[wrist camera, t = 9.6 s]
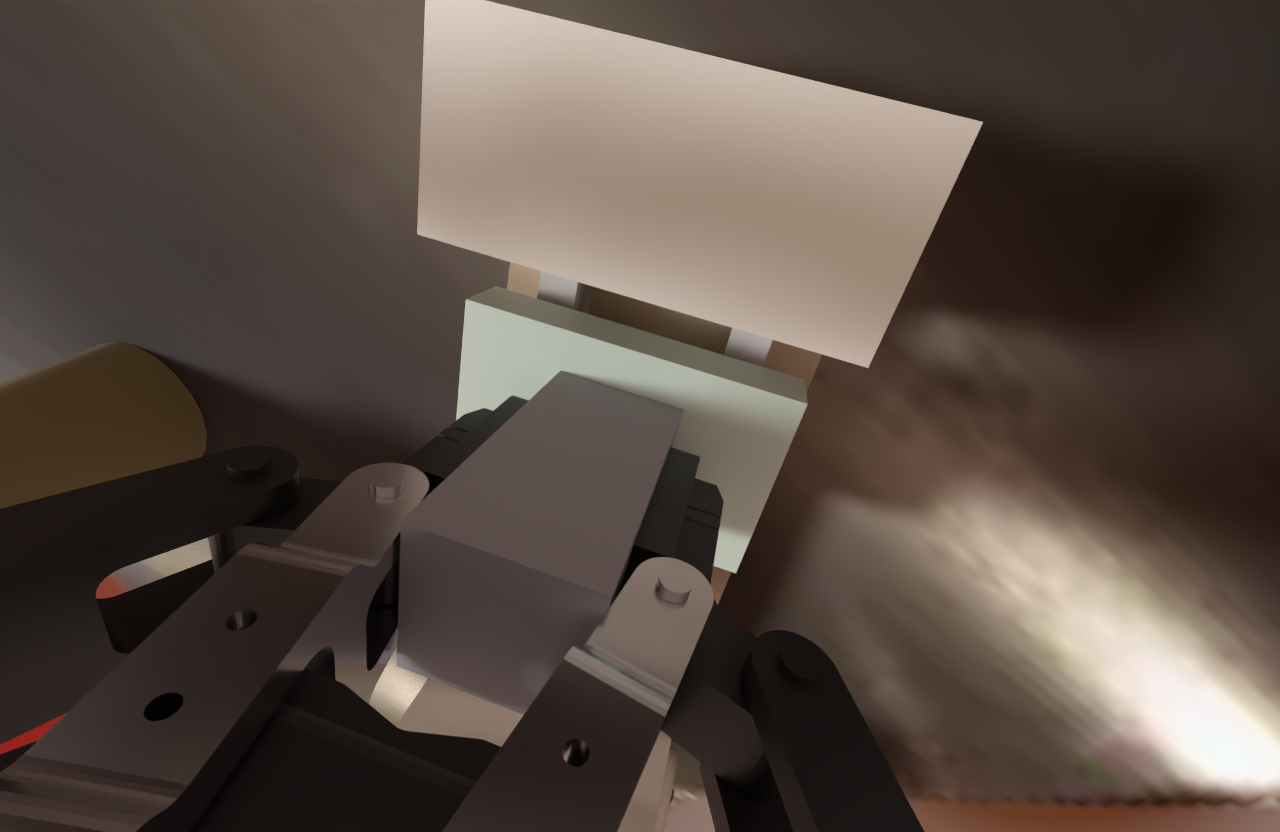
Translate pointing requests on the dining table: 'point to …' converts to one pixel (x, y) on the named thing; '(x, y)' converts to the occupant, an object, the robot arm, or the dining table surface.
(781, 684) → the robot arm
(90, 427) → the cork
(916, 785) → the dining table surface
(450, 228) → the rail
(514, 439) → the carriage
